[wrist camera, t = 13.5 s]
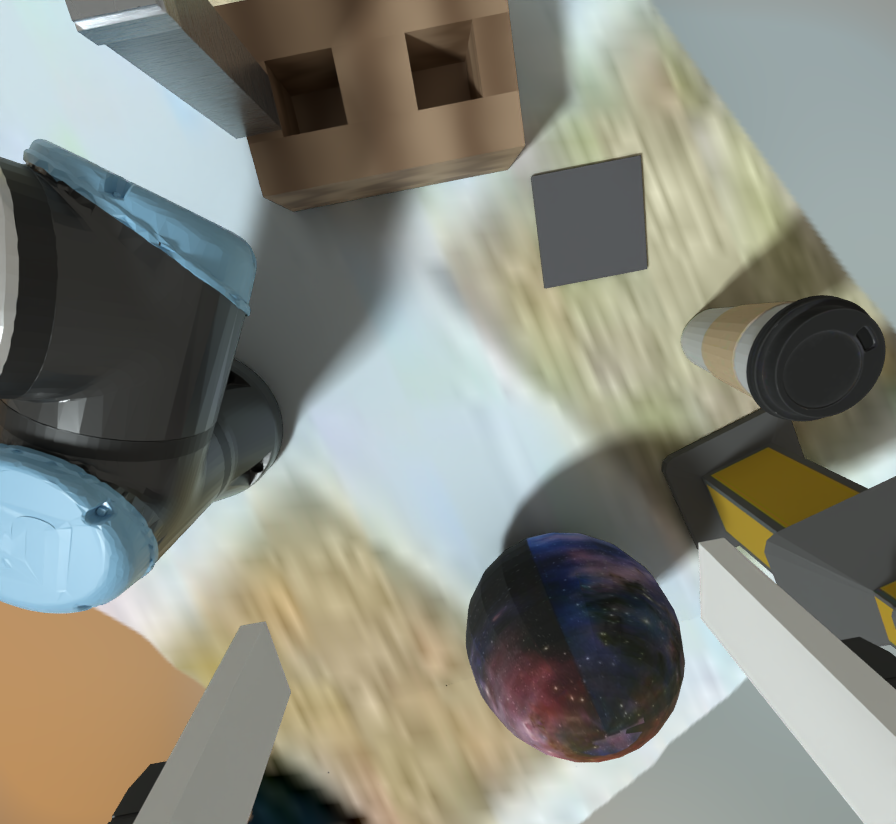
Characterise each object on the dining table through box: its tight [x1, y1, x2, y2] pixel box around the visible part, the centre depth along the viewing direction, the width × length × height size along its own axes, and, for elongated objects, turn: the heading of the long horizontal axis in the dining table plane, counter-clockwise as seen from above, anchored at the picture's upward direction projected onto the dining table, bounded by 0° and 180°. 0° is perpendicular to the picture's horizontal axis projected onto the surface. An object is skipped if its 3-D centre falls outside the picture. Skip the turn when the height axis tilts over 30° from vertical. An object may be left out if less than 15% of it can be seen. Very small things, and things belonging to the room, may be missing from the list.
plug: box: [65, 0, 282, 139], centre depth 25 cm, size 4×4×16 cm
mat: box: [531, 155, 647, 288], centre depth 43 cm, size 10×10×1 cm
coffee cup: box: [681, 295, 885, 421], centre depth 40 cm, size 9×9×15 cm
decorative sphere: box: [466, 533, 685, 762], centre depth 45 cm, size 19×20×20 cm
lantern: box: [662, 409, 896, 649], centre depth 37 cm, size 14×14×30 cm
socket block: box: [214, 0, 525, 212], centre depth 37 cm, size 20×12×8 cm, turn 100°
